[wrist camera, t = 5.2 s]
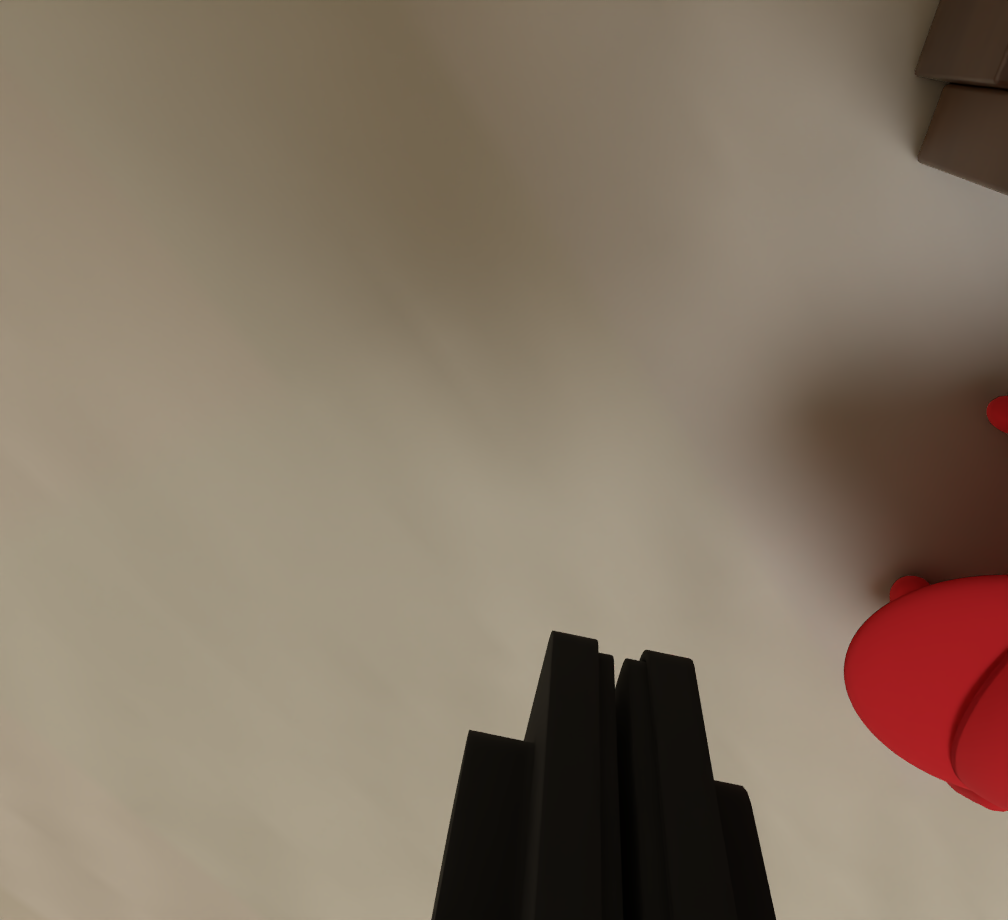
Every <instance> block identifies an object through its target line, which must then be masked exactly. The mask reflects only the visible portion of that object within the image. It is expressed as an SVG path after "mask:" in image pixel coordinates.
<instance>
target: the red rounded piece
mask: <svg viewBox="0 0 1008 920" xmlns="http://www.w3.org/2000/svg"><path fill="white" fill-rule="evenodd" d="M986 414H987V417H988V419H989V421H990V423H991V424H992V425H993V426H995V427H996V428H997V429H999V430H1000V431H1002V432H1005V433H1007V434H1008V395H1007V396H1000V397H997V398H995V399H994V400H992V401H991V402H990V403H989V404H988V407H987V412H986ZM844 680H845V686H846V690H847V693H848V696H849V699H850V701H851V703H852V705H853V707H854V709H855V711H856V713H857V714H858V716H859V717H860V719H861V720H862V721H863V723H864V724H865V725H866V727H867V728H868V729H869V730H870V731H871V732H872V733H873V734H874V735H875V736H876V737H877V738H878V739H879V740H880V741H881V742H882V743H883V744H884V745H885V746H886V747H888V748H889V749H890V750H891V751H893V752H894V753H895V754H897V755H898V756H900V757H901V758H903V759H904V760H906V761H907V762H909V763H910V764H912V765H914V766H915V767H917V768H919V769H921V770H923V771H925V772H926V773H928V774H930V775H932V776H935V777H937V778H939V779H941V780H944V781H946V782H947V783H948V784H949V785H950V786H951V787H952V788H953V789H954V790H955V791H956V792H958V793H959V794H961V795H963V796H965V797H966V798H968V799H970V800H972V801H973V802H975V803H978V804H980V805H982V806H984V807H986V808H988V809H990V810H994V811H1002V812H1004V811H1008V575H983V576H973V577H965V578H958V579H952V580H948V581H943V582H939V583H935V584H932V585H930V584H929V583H928V582H927V581H926V580H924V579H923V578H921V577H917V576H904V577H902V578H900V579H898V580H897V581H896V582H895V583H894V584H893V586H892V588H891V590H890V602H889V603H888V604H886V605H885V606H883V607H882V608H880V609H879V610H878V611H876V612H875V613H874V614H873V615H872V616H871V617H869V618H868V619H867V620H866V621H865V622H864V624H863V625H862V626H861V627H860V628H859V630H858V631H857V632H856V634H855V635H854V637H853V639H852V641H851V643H850V645H849V647H848V650H847V653H846V658H845V663H844Z"/></svg>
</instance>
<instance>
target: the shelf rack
mask: <svg viewBox="0 0 1008 920" xmlns="http://www.w3.org/2000/svg"><path fill="white" fill-rule="evenodd" d="M915 75H916V76H919V77H924V78H929V79H934V80H939V81H944V82H949V83H950V84H946V86H945V87H944V88H943V91H942V93H941V96H940V99H939V101H938V104H937V107H936V109H935V112H934V115H933V117H932V120H931V123H930V125H929V128H928V131H927V133H926V136H925V139H924V141H923V144H922V147H921V149H920V152H919V155H918V161H919V162H920V163H922V164H925V165H927V166H930V167H933V168H935V169H938V170H941V171H944V172H946V173H949V174H952V175H954V176H957V177H960V178H962V179H965V180H968V181H971V182H973V183H976V184H979V185H981V186H984V187H987V188H989V189H992V190H995V191H998V192H1000V193H1003V194H1006V195H1008V0H940V3H939V5H938V8H937V11H936V14H935V17H934V19H933V22H932V25H931V28H930V30H929V33H928V36H927V39H926V42H925V44H924V47H923V50H922V53H921V56H920V58H919V61H918V64H917V67H916V69H915Z"/></svg>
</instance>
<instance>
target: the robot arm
mask: <svg viewBox="0 0 1008 920" xmlns="http://www.w3.org/2000/svg"><path fill="white" fill-rule="evenodd" d="M431 920H776V917H775V912H774V907H773V903H772V898H771V894H770V889H769V884H768V880H767V875H766V870H765V866H764V861H763V857H762V852H761V847H760V843H759V838H758V833H757V829H756V824H755V820H754V815H753V810H752V806H751V802H750V799H749V796H748V793H747V791H746V790H745V789H744V787H743V786H740V785H735V784H730V783H725V782H720V781H716V780H714V778H713V773H712V767H711V761H710V755H709V749H708V743H707V737H706V732H705V726H704V720H703V714H702V708H701V702H700V697H699V691H698V685H697V679H696V673H695V667H694V664H693V661H692V660H691V659H689V658H684V657H679V656H674V655H669V654H665V653H660V652H655V651H650V650H645V651H644V652H643V654H642V655H641V658H640V661H637V660H632V659H628V658H626V659H625V660H624V662H623V665H622V668H621V671H620V674H619V678H618V681H617V684H616V688H615V680H614V659H613V656H612V655H608V654H603V653H598V641H597V640H596V639H591V638H586V637H581V636H577V635H572V634H567V633H562V632H557V631H552V632H551V635H550V638H549V642H548V646H547V650H546V654H545V658H544V662H543V666H542V670H541V674H540V678H539V682H538V686H537V690H536V694H535V698H534V702H533V706H532V710H531V714H530V718H529V722H528V726H527V730H526V734H525V738H524V741H521V740H516V739H511V738H506V737H502V736H497V735H492V734H487V733H482V732H477V731H472V730H469V732H468V737H467V741H466V746H465V751H464V755H463V760H462V765H461V770H460V774H459V779H458V784H457V789H456V794H455V799H454V804H453V809H452V814H451V819H450V824H449V829H448V834H447V840H446V845H445V850H444V855H443V861H442V866H441V871H440V877H439V882H438V887H437V893H436V898H435V903H434V909H433V914H432V919H431Z"/></svg>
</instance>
